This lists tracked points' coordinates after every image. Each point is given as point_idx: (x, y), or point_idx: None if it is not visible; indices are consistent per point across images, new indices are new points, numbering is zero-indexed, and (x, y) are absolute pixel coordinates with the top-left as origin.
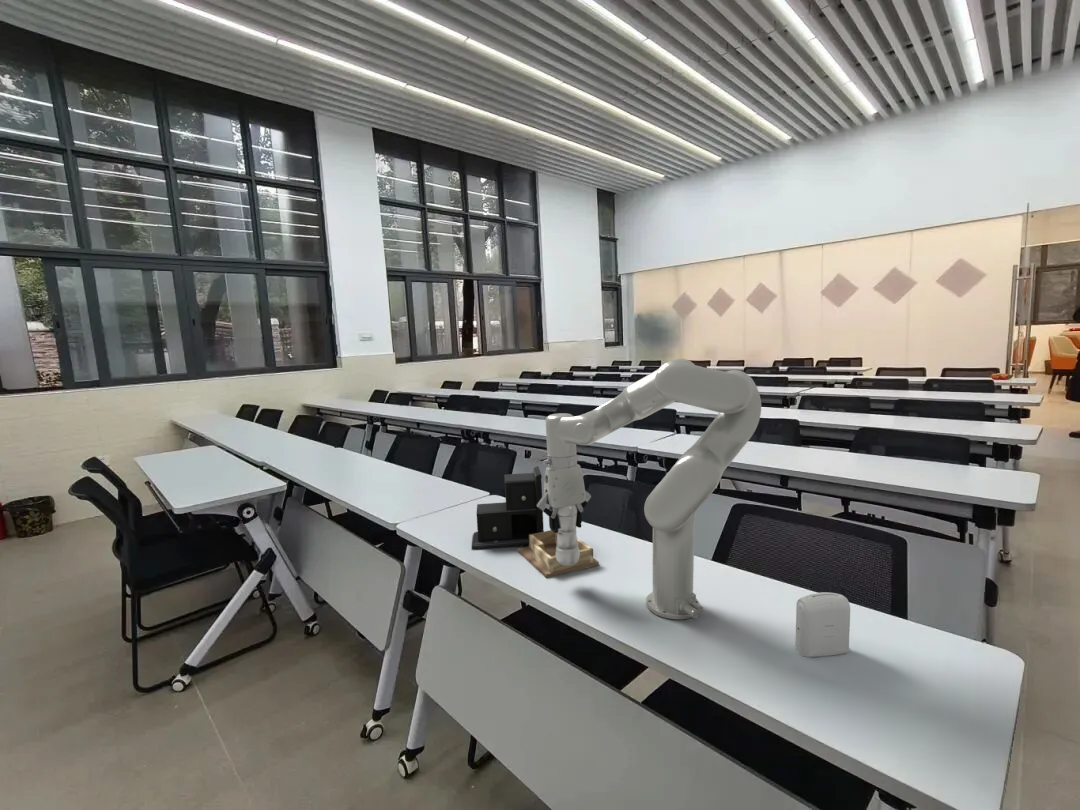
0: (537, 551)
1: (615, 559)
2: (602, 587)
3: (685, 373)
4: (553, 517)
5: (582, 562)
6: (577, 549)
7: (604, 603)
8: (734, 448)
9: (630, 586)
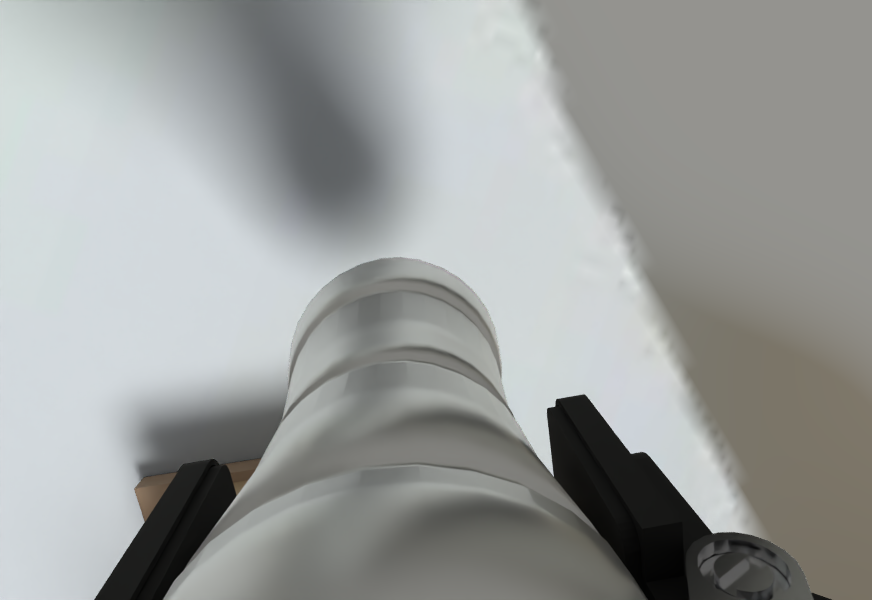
0: None
1: (20, 514)
2: (211, 213)
3: None
4: (716, 559)
5: (240, 488)
6: (319, 310)
7: (263, 23)
8: None
9: (35, 168)
